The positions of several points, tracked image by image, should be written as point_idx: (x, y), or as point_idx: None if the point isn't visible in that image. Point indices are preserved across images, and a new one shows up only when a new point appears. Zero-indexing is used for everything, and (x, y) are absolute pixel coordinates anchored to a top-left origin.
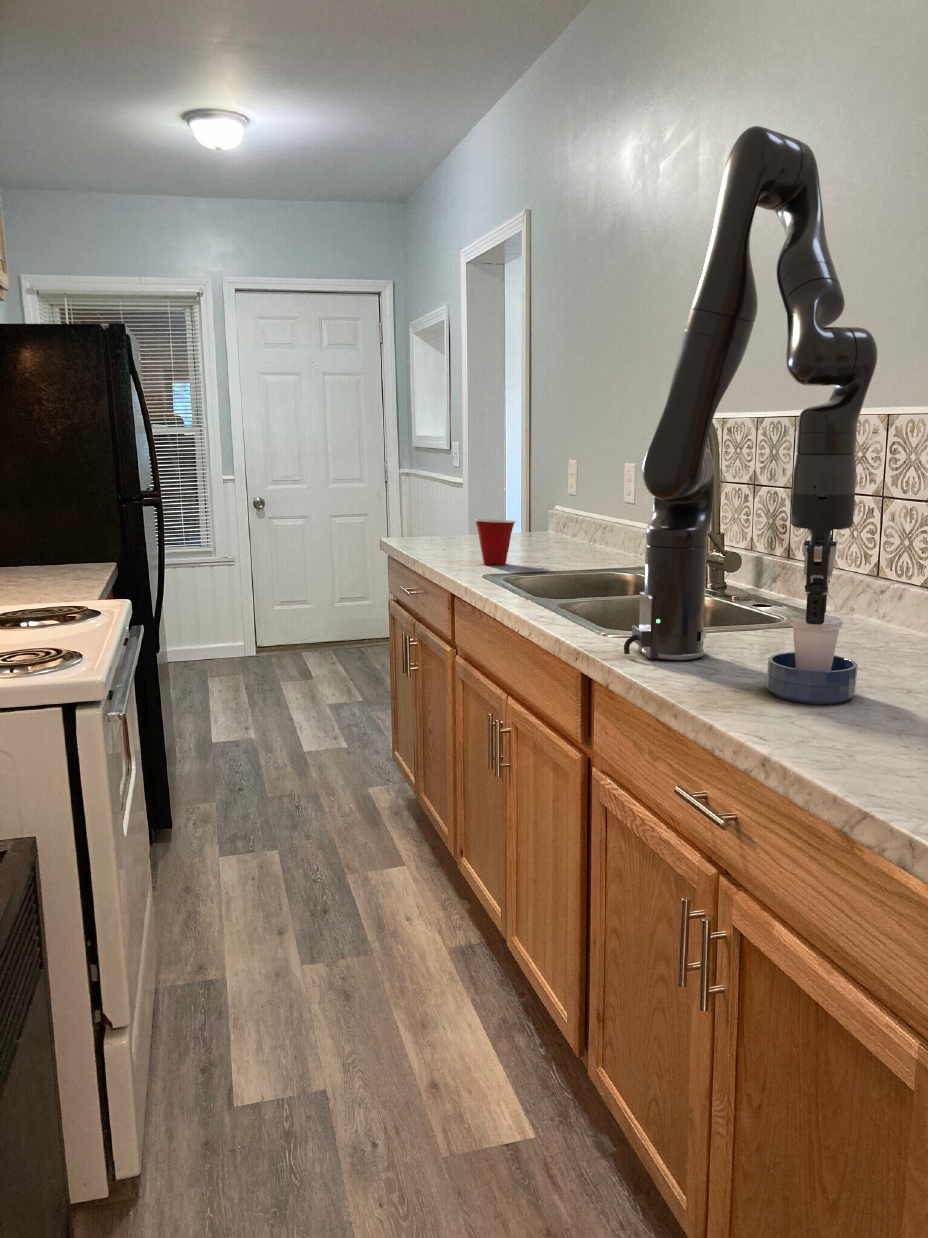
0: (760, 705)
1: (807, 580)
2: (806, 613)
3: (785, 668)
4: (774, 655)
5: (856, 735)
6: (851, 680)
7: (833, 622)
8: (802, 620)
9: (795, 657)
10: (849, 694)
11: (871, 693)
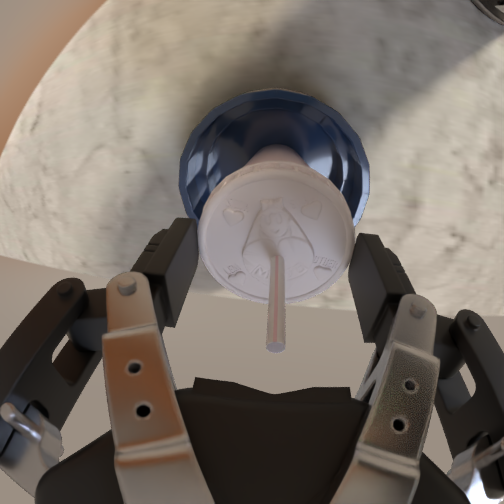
0: (170, 85)
1: (33, 313)
2: (167, 231)
3: (192, 131)
4: (316, 105)
5: (90, 223)
6: None
7: (222, 284)
8: (236, 204)
9: (267, 153)
10: None
11: None
